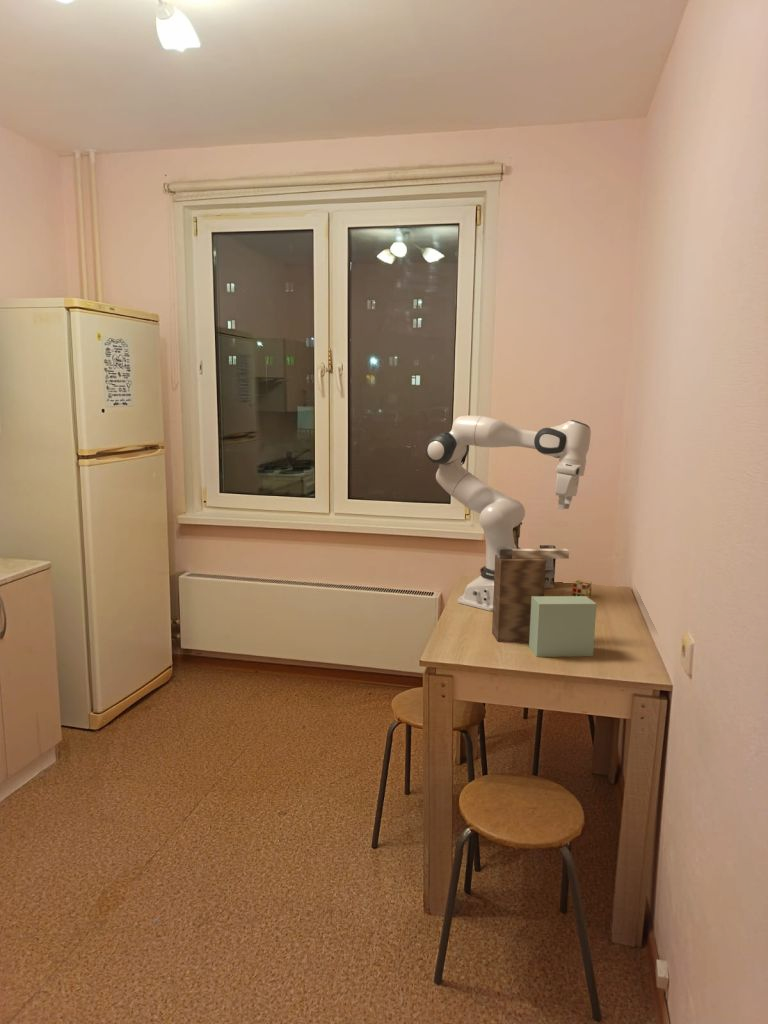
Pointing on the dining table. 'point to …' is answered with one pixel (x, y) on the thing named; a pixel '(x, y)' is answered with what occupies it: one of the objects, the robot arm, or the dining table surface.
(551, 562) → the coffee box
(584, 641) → the box
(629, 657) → the dining table surface
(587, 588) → the rubik's cube
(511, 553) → the baton
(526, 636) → the brown wooden block
